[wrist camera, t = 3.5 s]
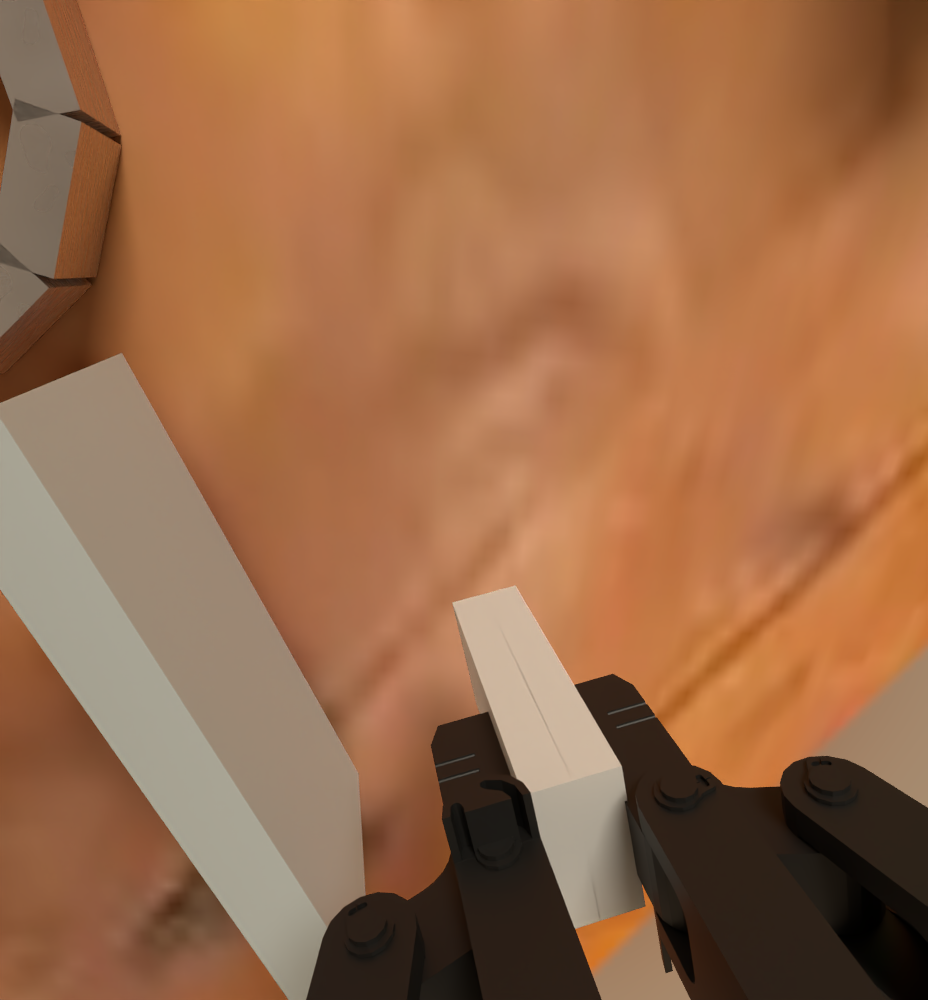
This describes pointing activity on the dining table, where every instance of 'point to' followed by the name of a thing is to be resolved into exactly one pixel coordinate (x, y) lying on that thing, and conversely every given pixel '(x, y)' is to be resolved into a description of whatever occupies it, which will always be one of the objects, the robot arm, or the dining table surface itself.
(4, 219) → the hinge fixed
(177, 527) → the hinge leaf
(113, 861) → the dining table surface
